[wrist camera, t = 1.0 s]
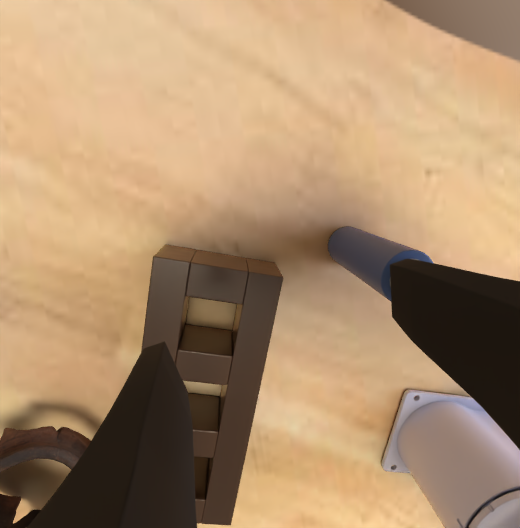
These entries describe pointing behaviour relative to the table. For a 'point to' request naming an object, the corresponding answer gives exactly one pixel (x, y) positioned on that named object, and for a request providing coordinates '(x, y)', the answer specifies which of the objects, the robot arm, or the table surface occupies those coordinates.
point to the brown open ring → (33, 447)
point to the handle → (370, 256)
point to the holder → (215, 359)
